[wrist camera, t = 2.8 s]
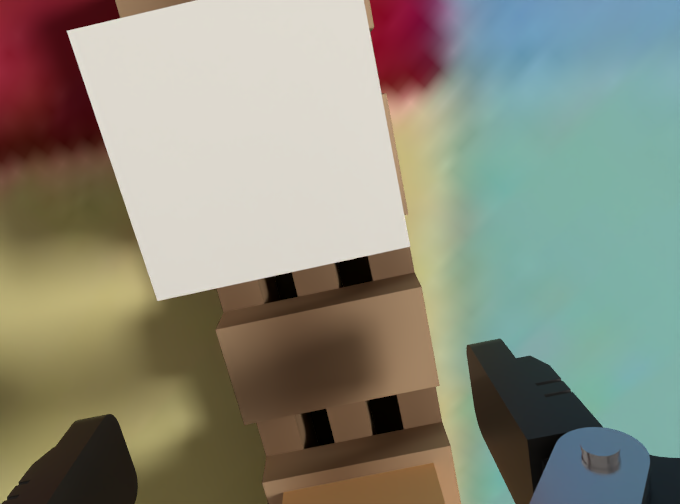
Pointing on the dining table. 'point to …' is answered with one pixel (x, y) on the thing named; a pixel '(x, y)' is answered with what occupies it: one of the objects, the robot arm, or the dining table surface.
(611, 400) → the dining table surface
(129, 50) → the white cube
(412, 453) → the brown slotted rack
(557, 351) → the dining table surface
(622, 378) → the dining table surface
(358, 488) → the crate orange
